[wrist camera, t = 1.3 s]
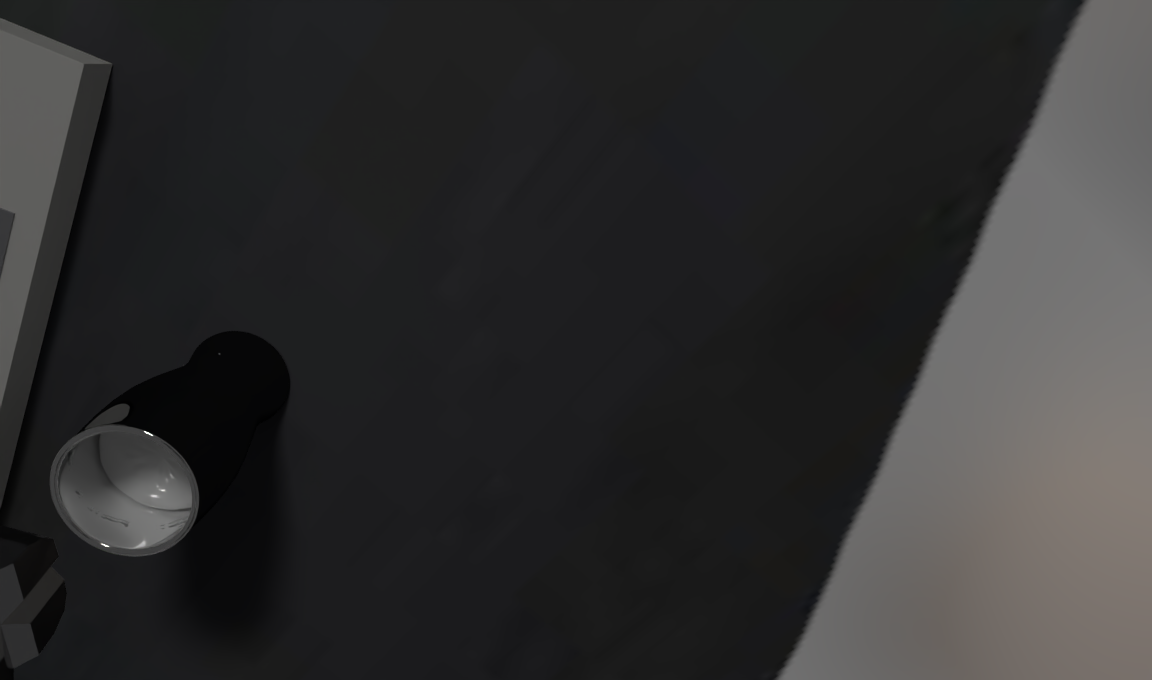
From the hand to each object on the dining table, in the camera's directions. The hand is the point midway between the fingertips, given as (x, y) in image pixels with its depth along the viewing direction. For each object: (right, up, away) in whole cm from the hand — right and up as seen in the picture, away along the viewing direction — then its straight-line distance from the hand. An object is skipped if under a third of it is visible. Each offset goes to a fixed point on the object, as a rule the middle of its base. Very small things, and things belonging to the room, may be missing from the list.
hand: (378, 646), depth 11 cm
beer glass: (-18, +1, +42) cm, 46 cm away
